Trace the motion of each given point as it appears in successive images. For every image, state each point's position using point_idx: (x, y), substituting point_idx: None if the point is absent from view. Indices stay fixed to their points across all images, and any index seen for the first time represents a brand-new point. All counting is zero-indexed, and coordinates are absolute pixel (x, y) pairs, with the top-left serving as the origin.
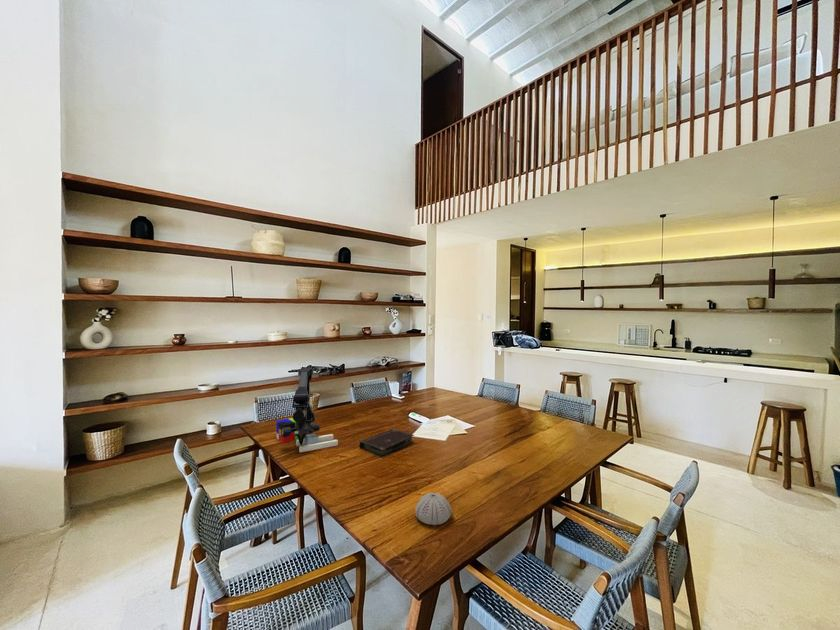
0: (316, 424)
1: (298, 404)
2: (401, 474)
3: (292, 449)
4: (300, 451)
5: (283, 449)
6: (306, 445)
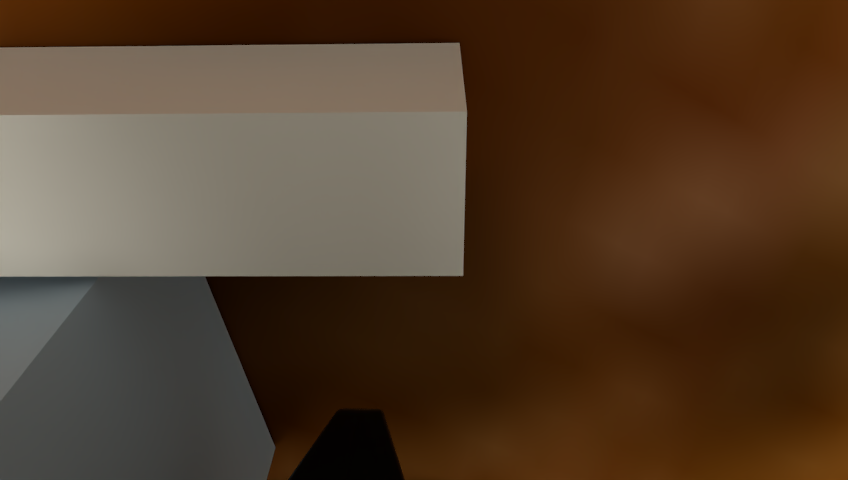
0: None
1: None
2: None
3: (606, 366)
4: (436, 52)
5: (801, 449)
6: (144, 234)
